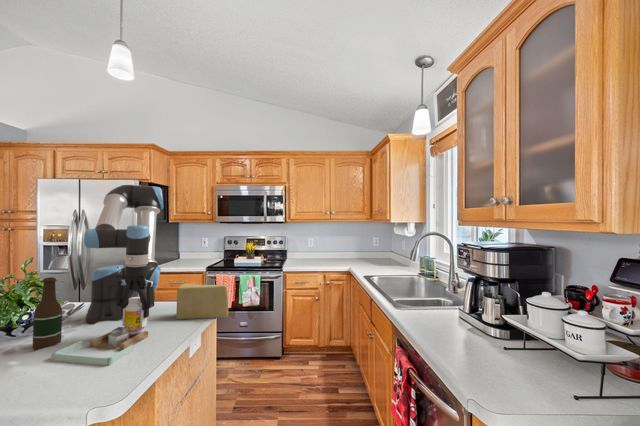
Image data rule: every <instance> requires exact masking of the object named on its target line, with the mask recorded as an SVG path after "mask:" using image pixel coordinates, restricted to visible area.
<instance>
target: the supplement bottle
mask: <svg viewBox="0 0 640 426" xmlns="http://www.w3.org/2000/svg"><path fill="white" fill-rule="evenodd" d="M142 309H143V307H142V304H141V300H140V297H139V296H134V297H133V296H131V298H129V304H128V306H126V308H125V326H123V327H130V329H129V335H138V334H140V333H142V332H144V331H145V326H144V327H140V318H141V310H142Z"/></svg>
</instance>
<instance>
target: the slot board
mask: <svg viewBox="0 0 640 426" xmlns="http://www.w3.org/2000/svg"><path fill="white" fill-rule="evenodd" d="M111 333H112V331H109V332H107V333H105V334H103V335H101V336H99V337H96V338H94V339H93V340H90V341H89V347H88V348H91V349H101V350H102V349H103V350H112V351H113V350H114V351H122V350H124V349H125V348H127V347H129V346H131V345H136V344H138V343H139V342H141V341H143V340H145V339H147V338H148V337H149V331H146V330H144V331H142V332H141V333H138V334H135V335H133V334H129V338H128V339H127V341H125V342H123V343H121V344H120V347H119V348H117V349H115V348H111V347H108V340H109V335H110V334H111Z"/></svg>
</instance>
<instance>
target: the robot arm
mask: <svg viewBox="0 0 640 426" xmlns="http://www.w3.org/2000/svg"><path fill="white" fill-rule="evenodd" d="M102 202H103V208H102V211H101V213H100V215H99V217H98V220H97V223H96V225H95V228H88V229H86V230H85V231H84V238H83V243H84V246H85V247H86V249H87V248H88V249H112V248H113V249H121V248H123V249H125V265H126V266H124V265H123V264H111V265H107V266H102V267H98V268H96V269H94V270H93V272H92V273H91V275H92V276H91V292H90V293H91V296H90V304H89V306H88V309H87V313H86V315H85V321H84V322H85V323H87V324H93V325H95V324H98V323H101V322H117V321H120V320H122V326H121V327H124V326H125V308H126V306H128V305H129V298H132V297H133V294H135V293H136V294H138V295H139V296H138V297H140V300H141V304H142V307H143V309H142V310H141V318H140V327H144V328H145V326H148V318H149V316H150V309H151V308H153V307H155V293H154V292H155V291H156V290H158V285H159V281H160V277H161V276H160V275H161V266H158V265H159V264H158V262H157V260H155V256H156V255H155V253H156V252H155V251H156V232H157V215H158V214H160V213H161V210H163V209H164V199H163V191H162V188H161V187H159V186H153V185H151V186H150V185H134V184H122V185H119V186H118V187H115V188H112V189H111V190H110V191H109V192H108V193H106V194H105V197H104V199H103V201H102ZM127 208H129V209H133V212H134V213H136V224H133V225H132V224H130V225H128V226H127V228H124V229H122V228H121V229H120V228H119V225H120V222H121V218H122V215H123V211H124V210H125V209H127Z"/></svg>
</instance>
